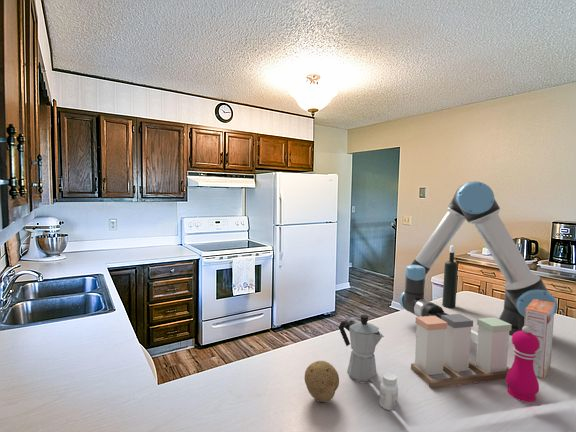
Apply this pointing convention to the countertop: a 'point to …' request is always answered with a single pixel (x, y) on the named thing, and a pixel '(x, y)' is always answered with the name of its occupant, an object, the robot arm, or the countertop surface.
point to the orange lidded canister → (430, 344)
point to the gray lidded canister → (457, 341)
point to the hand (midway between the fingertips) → (479, 339)
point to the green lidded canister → (492, 344)
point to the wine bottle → (450, 281)
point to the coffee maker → (361, 348)
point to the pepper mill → (523, 366)
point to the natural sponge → (321, 380)
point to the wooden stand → (458, 379)
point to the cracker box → (541, 332)
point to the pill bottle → (388, 391)
